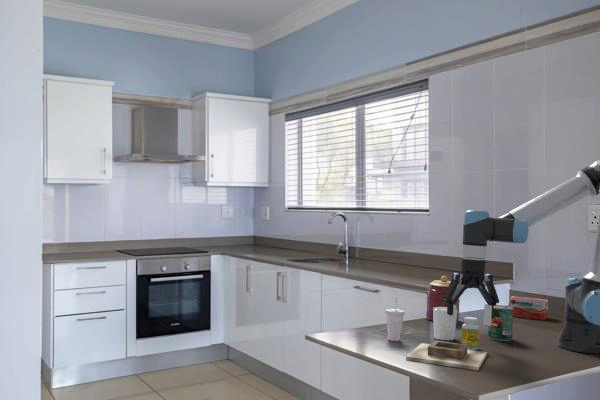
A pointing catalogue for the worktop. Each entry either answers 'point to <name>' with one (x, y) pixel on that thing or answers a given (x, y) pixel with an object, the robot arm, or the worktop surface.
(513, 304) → the medicine box
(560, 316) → the worktop surface
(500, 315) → the canned tomato
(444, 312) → the white cup
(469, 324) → the supplement bottle
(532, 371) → the worktop surface
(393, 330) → the smoothie
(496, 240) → the robot arm
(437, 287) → the canister
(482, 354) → the socket board
